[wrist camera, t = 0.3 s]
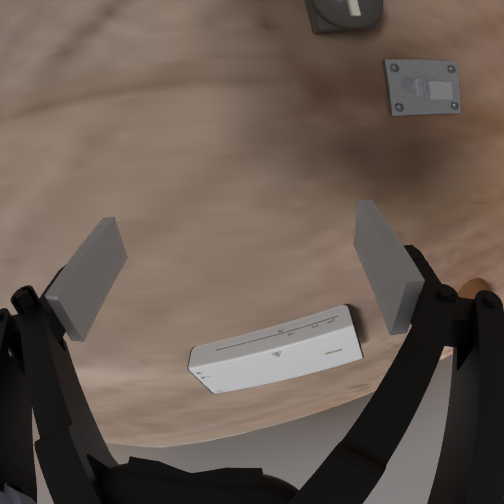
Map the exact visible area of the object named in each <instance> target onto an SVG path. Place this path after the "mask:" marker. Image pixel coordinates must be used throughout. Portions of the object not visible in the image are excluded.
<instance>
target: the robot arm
mask: <svg viewBox="0 0 504 504" xmlns="http://www.w3.org/2000/svg"><path fill="white" fill-rule="evenodd" d="M354 247H355V249H356V251H357V254H358V256H359V258H360V261H361V263H362V265H363V268H364V270H365V272H366V275H367V277H368V279H369V282H370V284H371V287H372V289H373V292H374V294H375V297H376V299H377V302H378V304H379V307H380V310H381V312H382V315H383V318H384V320H385V323H386V326H387V328H388V331H389V334H390V335H395V334H402V333H407V331H408V328H409V325H410V323H411V325H412V327H411V329H410V331H409V333H408V335H407V337H406V339H405V341H404V343H403V345H402V346H401V348H400V350H399V352H398V354H397V356H396V357H395V359H394V361H393V363H392V365H391V366H390V368H389V370H388V372H387V373H386V375H385V377H384V378H383V380H382V382H381V383H380V385H379V387H378V388H377V390H376V391H375V393H374V395H373V396H372V398H371V399H370V401H369V403H368V404H367V406H366V407H365V409H364V410H363V412H362V413H361V415H360V416H359V418H358V419H357V420H356V422H355V423H354V425H353V426H352V428H351V429H350V430H349V432H348V433H347V435H346V436H345V437H344V439H343V440H342V441H341V442H340V443H338V445H337V446H336V447H335V448H334V449H333V451H332V452H331V453H330V454H329V456H328V457H327V458H326V460H325V461H324V462H323V463H322V464H321V466H320V467H319V468H318V470H317V471H316V472H315V473H314V474H313V475H312V476H311V478H310V479H309V480H308V481H307V482H306V483H305V484H304V486H303V487H302V488H301V489H300V490H298V489H297V488H295V487H294V486H293V485H291V484H289V483H288V482H286V481H283V480H281V479H279V478H276V477H273V476H270V475H265V474H263V471H262V468H222V469H216V470H210V471H204V472H197V473H189V472H186V471H183V470H180V469H177V468H174V467H172V466H169V465H167V464H164V463H162V462H159V461H153V460H147V459H141V458H136V457H131V456H130V458H129V462H128V463H126V464H121V465H119V464H118V463H117V462H116V461H115V459H114V458H113V457H112V455H111V454H110V452H109V450H108V448H107V446H106V444H105V442H104V440H103V438H102V435H101V433H100V431H99V429H98V427H97V425H96V422H95V420H94V418H93V415H92V413H91V411H90V408H89V406H88V404H87V401H86V399H85V396H84V393H83V391H82V388H81V386H80V383H79V380H78V377H77V375H76V372H75V369H74V366H73V363H72V360H71V357H70V354H69V350H68V347H67V344H66V342H65V340H64V339H63V336H64V334H65V332H66V333H67V334H68V336H69V337H70V339H71V340H73V341H83V342H84V340H85V338H86V336H87V334H88V332H89V330H90V328H91V326H92V324H93V322H94V320H95V318H96V316H97V314H98V312H99V310H100V308H101V306H102V304H103V302H104V300H105V298H106V296H107V294H108V292H109V290H110V288H111V287H112V285H113V283H114V281H115V279H116V277H117V276H118V274H119V272H120V270H121V268H122V267H123V265H124V263H125V261H126V259H127V258H128V257H127V254H126V251H125V248H124V245H123V242H122V239H121V236H120V233H119V230H118V226H117V223H116V220H115V217H108V218H103V219H102V220H101V221H100V223H99V224H98V225H97V226H96V227H95V229H94V230H93V231H92V232H91V234H90V235H89V236H88V237H87V239H86V240H85V241H84V242H83V244H82V245H81V246H80V247H79V249H78V250H77V251H76V253H75V254H74V255H73V256H72V258H71V259H70V260H69V262H68V263H67V264H66V265H65V266H64V267H63V268H61V269H60V270H59V271H58V273H57V274H56V275H55V277H54V279H53V280H52V281H51V282H50V284H49V285H48V287H47V288H46V289H45V291H44V292H43V294H42V295H41V297H40V298H38V296H37V294H36V293H35V291H34V289H33V287H32V286H30V285H29V286H24V287H21V288H20V289H18V290H17V291H16V292H15V293H14V294H13V296H12V297H11V303H12V304H13V306H14V308H15V309H16V311H17V312H18V314H16V315H11V314H10V312H9V311H8V309H6V308H3V309H0V504H37V484H36V474H35V464H34V453H33V437H32V408H33V412H34V416H35V420H36V424H37V428H38V432H39V435H40V439H39V440H37V441H36V442H35V444H34V445H35V451H36V454H37V457H38V461H39V464H40V467H41V470H42V473H43V475H44V478H45V481H46V484H47V487H48V489H49V492H50V495H51V497H52V499H53V502H54V504H363V502H364V501H365V500H366V498H367V497H368V495H369V494H370V492H371V491H372V490H373V488H374V487H375V485H376V484H377V482H378V481H379V479H380V478H381V476H382V475H383V473H384V471H385V469H386V465H387V463H388V461H389V459H390V458H391V456H392V454H393V453H394V451H395V449H396V448H397V446H398V444H399V442H400V441H401V439H402V437H403V435H404V433H405V432H406V430H407V428H408V426H409V424H410V422H411V420H412V418H413V416H414V414H415V412H416V410H417V408H418V406H419V404H420V402H421V400H422V397H423V396H424V393H425V392H426V389H427V387H428V385H429V383H430V380H431V378H432V375H433V373H434V371H435V369H436V366H437V364H438V361H439V359H440V356H441V353H442V351H443V348H444V346H449V347H453V366H452V378H451V389H450V398H449V406H448V413H447V420H446V427H445V432H444V438H443V443H442V448H441V453H440V458H439V462H438V466H437V470H436V474H435V478H434V482H433V486H432V489H431V493H430V496H429V499H428V503H427V504H504V309H503V304H502V301H501V299H500V298H499V297H498V296H497V295H496V294H495V293H493V292H491V291H488V290H481V291H478V293H477V294H476V296H475V298H474V299H469V298H462V297H459V296H458V293H457V292H456V291H455V290H454V289H453V288H452V287H450V286H448V285H445V284H441V282H440V281H439V279H438V278H437V276H436V274H435V273H434V271H433V270H432V268H431V267H430V266H429V264H428V262H427V261H426V260H425V258H424V256H423V255H422V253H421V252H420V251H419V250H418V249H417V248H415V247H414V246H413V245H403V244H402V243H401V241H400V240H399V238H398V237H397V235H396V234H395V232H394V231H393V229H392V228H391V226H390V225H389V223H388V222H387V220H386V219H385V218H384V216H383V215H382V213H381V212H380V210H379V209H378V208H377V206H376V205H375V203H374V202H373V201H372V199H367V200H358V205H357V216H356V227H355V237H354ZM9 352H10V353H11V357H10V355H9Z"/></svg>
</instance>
